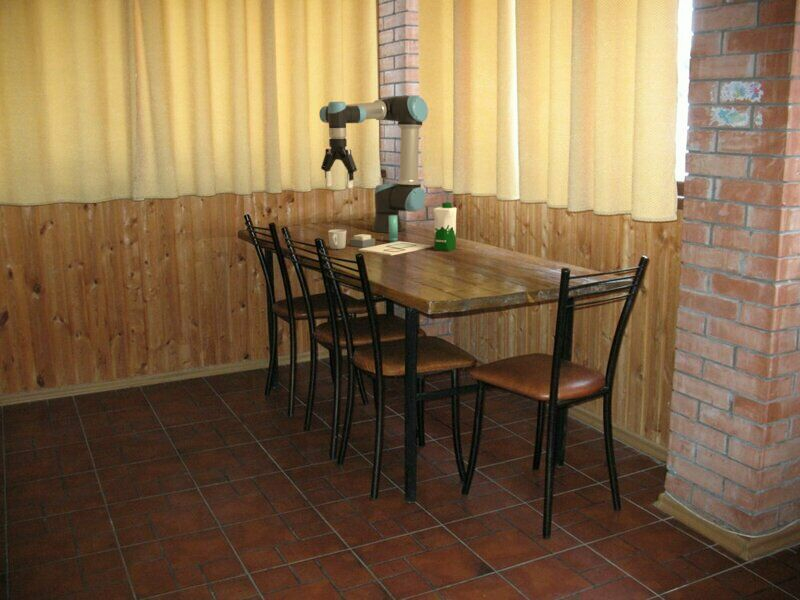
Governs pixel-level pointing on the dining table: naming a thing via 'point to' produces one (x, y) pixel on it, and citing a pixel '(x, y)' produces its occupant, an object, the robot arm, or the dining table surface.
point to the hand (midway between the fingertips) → (339, 187)
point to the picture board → (395, 248)
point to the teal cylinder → (393, 228)
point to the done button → (362, 237)
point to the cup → (337, 238)
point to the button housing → (362, 242)
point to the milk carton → (445, 227)
